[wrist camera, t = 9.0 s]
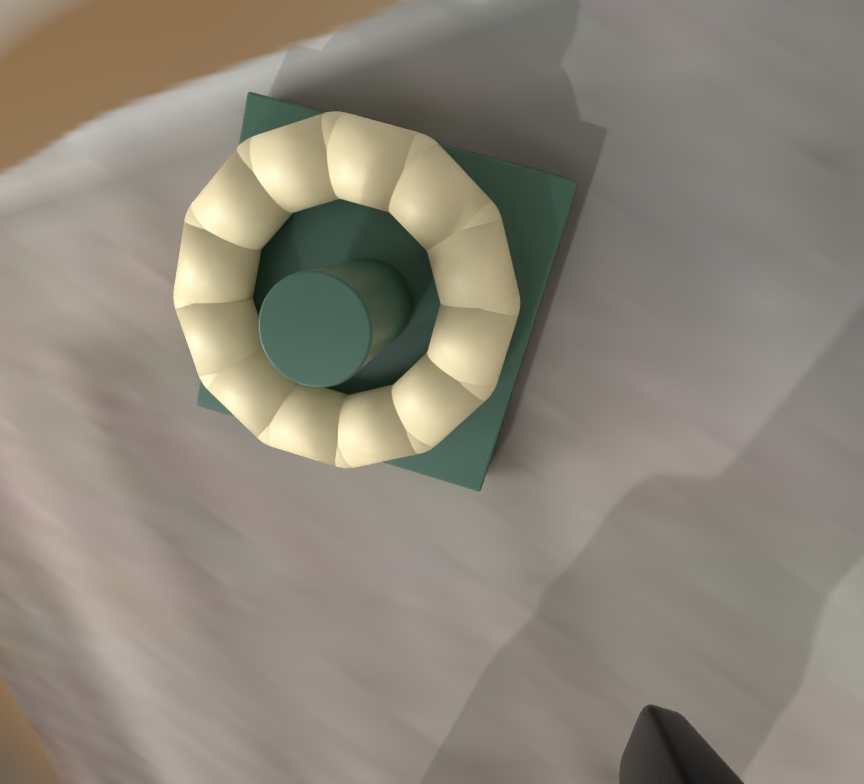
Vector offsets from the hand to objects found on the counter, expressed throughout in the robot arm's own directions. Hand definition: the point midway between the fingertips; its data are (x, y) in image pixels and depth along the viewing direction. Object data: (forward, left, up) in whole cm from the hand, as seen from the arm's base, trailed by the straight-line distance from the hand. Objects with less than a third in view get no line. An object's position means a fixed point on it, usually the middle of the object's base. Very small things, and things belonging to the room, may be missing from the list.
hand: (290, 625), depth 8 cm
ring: (+2, +3, -10) cm, 10 cm away
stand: (+2, +2, -12) cm, 12 cm away
